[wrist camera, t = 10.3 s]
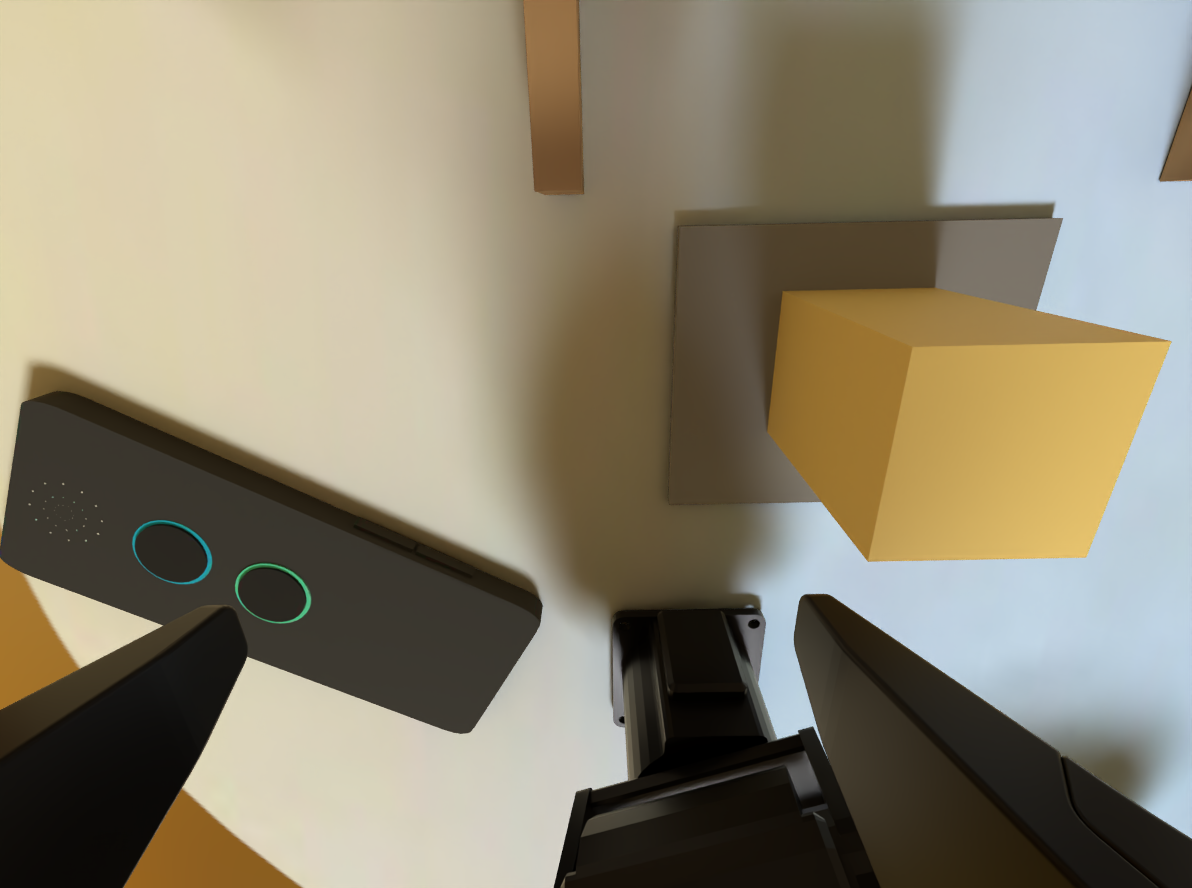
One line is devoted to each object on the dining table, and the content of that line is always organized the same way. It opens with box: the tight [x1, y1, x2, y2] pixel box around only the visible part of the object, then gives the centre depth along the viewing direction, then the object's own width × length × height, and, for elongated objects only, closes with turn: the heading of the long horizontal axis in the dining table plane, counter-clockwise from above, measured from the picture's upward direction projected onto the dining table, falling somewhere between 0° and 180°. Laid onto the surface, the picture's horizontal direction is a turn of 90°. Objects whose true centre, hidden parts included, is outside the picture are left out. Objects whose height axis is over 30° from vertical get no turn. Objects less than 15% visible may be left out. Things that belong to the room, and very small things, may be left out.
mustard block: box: [767, 288, 1171, 562], centre depth 15 cm, size 5×5×8 cm
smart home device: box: [0, 391, 543, 734], centre depth 23 cm, size 8×2×20 cm
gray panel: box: [668, 218, 1063, 505], centre depth 19 cm, size 10×12×1 cm
